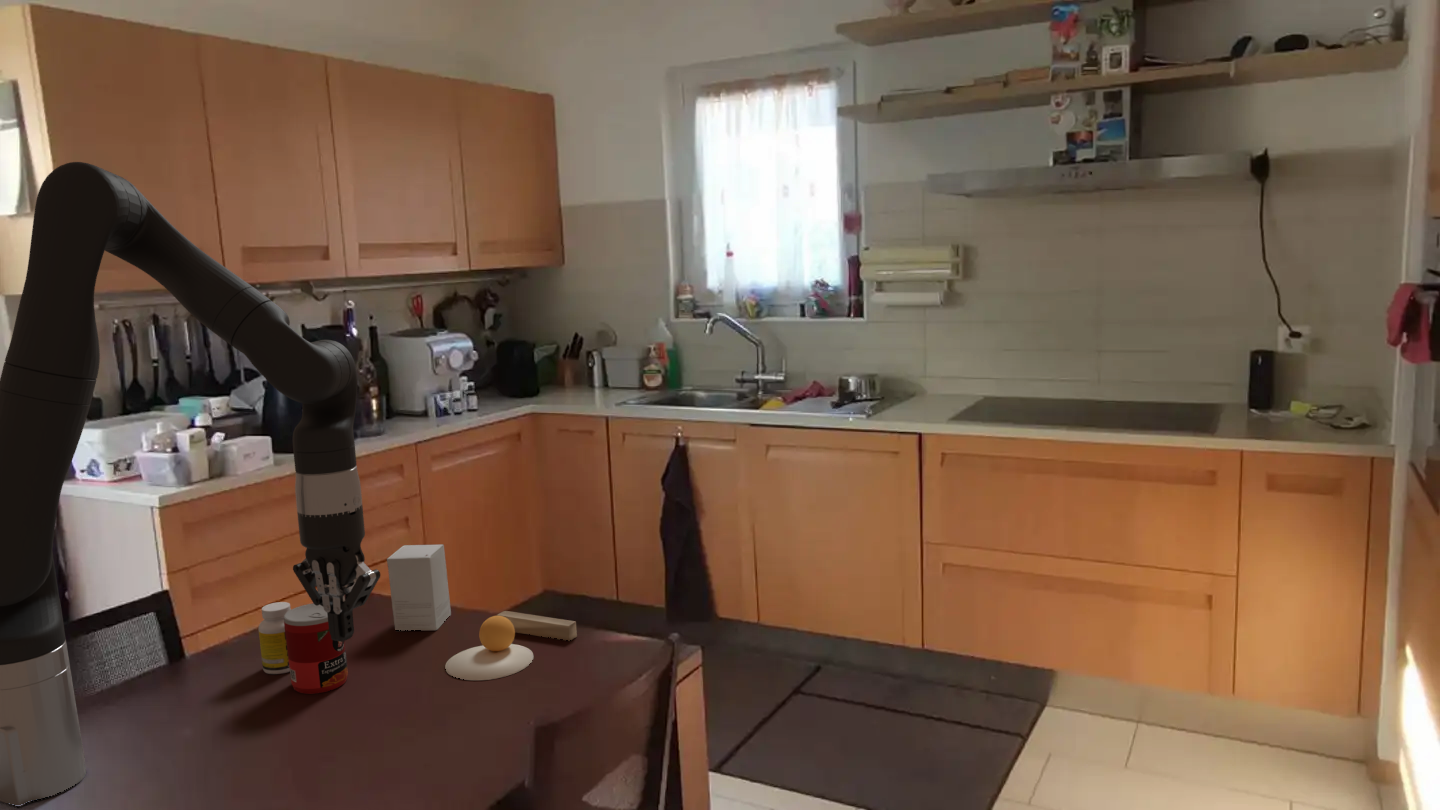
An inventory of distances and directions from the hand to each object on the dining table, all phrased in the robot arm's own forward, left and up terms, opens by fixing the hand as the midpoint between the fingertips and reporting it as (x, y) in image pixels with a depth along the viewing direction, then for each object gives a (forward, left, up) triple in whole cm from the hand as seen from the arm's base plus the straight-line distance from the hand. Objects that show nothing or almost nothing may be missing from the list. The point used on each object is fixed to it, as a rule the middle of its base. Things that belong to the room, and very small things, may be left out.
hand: (342, 638), depth 130 cm
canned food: (+12, +19, -15) cm, 27 cm away
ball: (+32, +2, -12) cm, 34 cm away
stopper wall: (+39, 0, -14) cm, 42 cm away
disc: (+27, 0, -14) cm, 31 cm away
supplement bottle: (+14, +29, -15) cm, 36 cm away
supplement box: (+36, +21, -15) cm, 45 cm away
